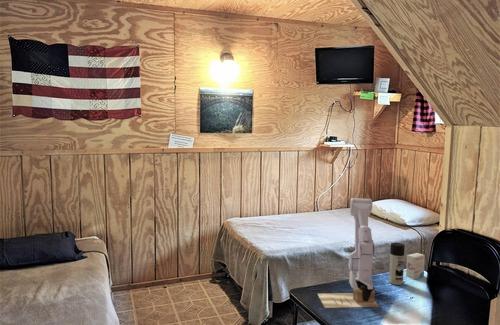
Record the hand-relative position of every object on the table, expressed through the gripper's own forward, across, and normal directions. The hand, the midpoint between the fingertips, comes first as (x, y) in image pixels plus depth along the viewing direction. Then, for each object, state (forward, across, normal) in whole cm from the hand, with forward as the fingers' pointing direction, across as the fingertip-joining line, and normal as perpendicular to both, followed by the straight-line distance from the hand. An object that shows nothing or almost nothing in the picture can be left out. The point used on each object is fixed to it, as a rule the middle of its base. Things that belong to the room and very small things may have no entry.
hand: (363, 298), depth 177 cm
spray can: (+3, -23, +25) cm, 34 cm away
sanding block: (+1, 0, 0) cm, 1 cm away
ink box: (+3, -31, +39) cm, 50 cm away
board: (+3, -1, -7) cm, 8 cm away
